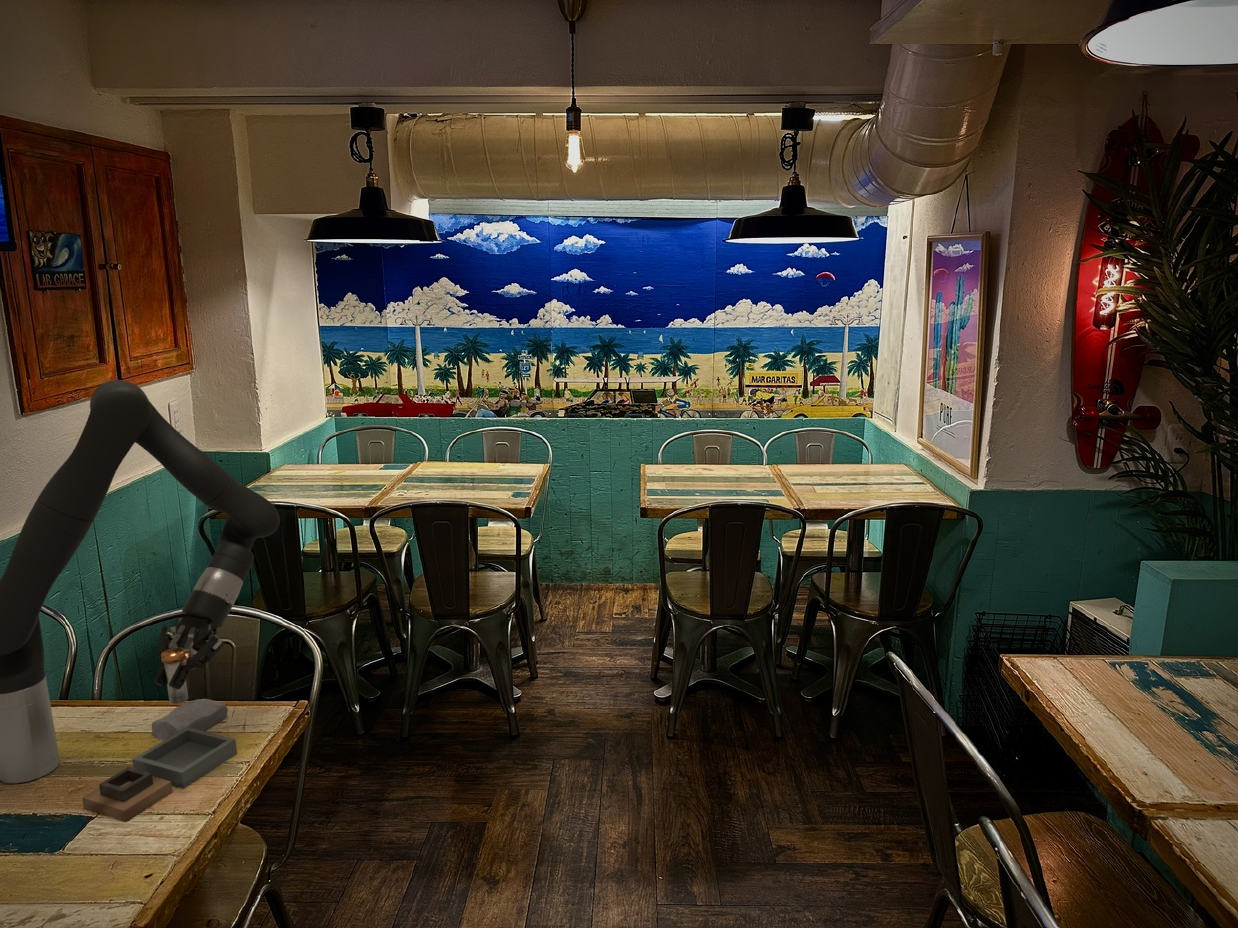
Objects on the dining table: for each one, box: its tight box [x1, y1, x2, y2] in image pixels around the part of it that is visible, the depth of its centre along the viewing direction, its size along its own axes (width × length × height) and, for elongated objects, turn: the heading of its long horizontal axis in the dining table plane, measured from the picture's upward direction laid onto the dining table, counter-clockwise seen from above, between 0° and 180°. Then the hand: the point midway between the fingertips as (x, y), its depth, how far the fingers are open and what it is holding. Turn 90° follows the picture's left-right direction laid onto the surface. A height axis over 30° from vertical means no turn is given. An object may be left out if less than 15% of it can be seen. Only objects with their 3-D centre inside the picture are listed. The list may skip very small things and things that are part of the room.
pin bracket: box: [81, 766, 173, 822], centre depth 149 cm, size 10×9×4 cm
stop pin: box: [160, 647, 189, 705], centre depth 156 cm, size 4×4×9 cm
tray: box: [131, 727, 238, 789], centre depth 159 cm, size 12×12×3 cm
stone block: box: [151, 698, 228, 741], centre depth 173 cm, size 12×5×10 cm
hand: (166, 685), depth 154 cm, fingers closed on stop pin, 3 cm apart
